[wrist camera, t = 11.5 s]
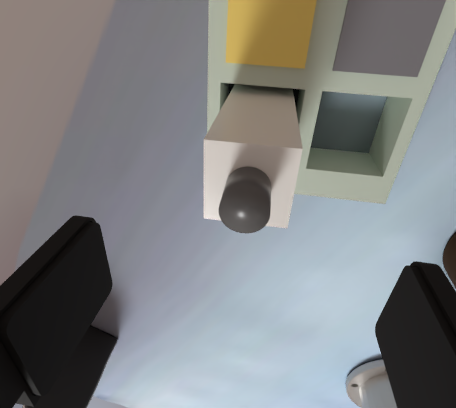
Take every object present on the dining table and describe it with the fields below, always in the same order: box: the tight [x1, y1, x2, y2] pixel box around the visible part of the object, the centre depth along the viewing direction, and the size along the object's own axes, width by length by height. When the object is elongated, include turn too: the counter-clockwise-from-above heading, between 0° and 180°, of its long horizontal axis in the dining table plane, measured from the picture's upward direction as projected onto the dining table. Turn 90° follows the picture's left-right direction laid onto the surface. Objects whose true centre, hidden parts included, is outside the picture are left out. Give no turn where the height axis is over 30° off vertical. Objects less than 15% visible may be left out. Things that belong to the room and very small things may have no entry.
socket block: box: [207, 0, 456, 204], centre depth 20 cm, size 13×13×4 cm
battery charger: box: [23, 326, 117, 408], centre depth 39 cm, size 7×4×11 cm, turn 60°
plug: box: [204, 84, 303, 233], centre depth 17 cm, size 4×4×14 cm
